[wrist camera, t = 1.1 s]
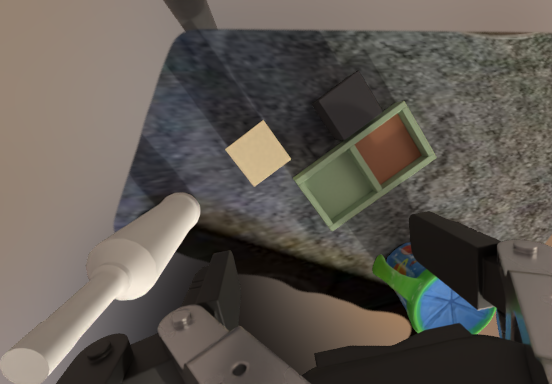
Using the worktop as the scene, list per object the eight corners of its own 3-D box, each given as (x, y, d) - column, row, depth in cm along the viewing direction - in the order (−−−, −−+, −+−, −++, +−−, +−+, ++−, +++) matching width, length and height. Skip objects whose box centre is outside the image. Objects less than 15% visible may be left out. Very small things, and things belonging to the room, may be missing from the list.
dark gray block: (311, 104, 34) (318, 100, 30) (346, 77, 34) (358, 70, 30) (334, 139, 35) (344, 140, 31) (369, 114, 35) (383, 111, 31)
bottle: (179, 234, 37) (26, 431, 12) (154, 205, 36) (-68, 360, 11) (209, 213, 36) (111, 374, 12) (185, 183, 35) (23, 294, 11)
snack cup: (467, 254, 41) (534, 293, 31) (429, 309, 42) (482, 363, 32) (383, 212, 38) (427, 240, 28) (347, 273, 40) (376, 319, 30)
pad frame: (292, 178, 36) (294, 180, 34) (395, 102, 35) (404, 100, 33) (327, 226, 38) (332, 231, 36) (426, 156, 37) (437, 157, 35)
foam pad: (228, 147, 35) (224, 149, 31) (262, 121, 34) (263, 119, 30) (254, 181, 36) (254, 186, 32) (287, 156, 35) (291, 159, 32)
